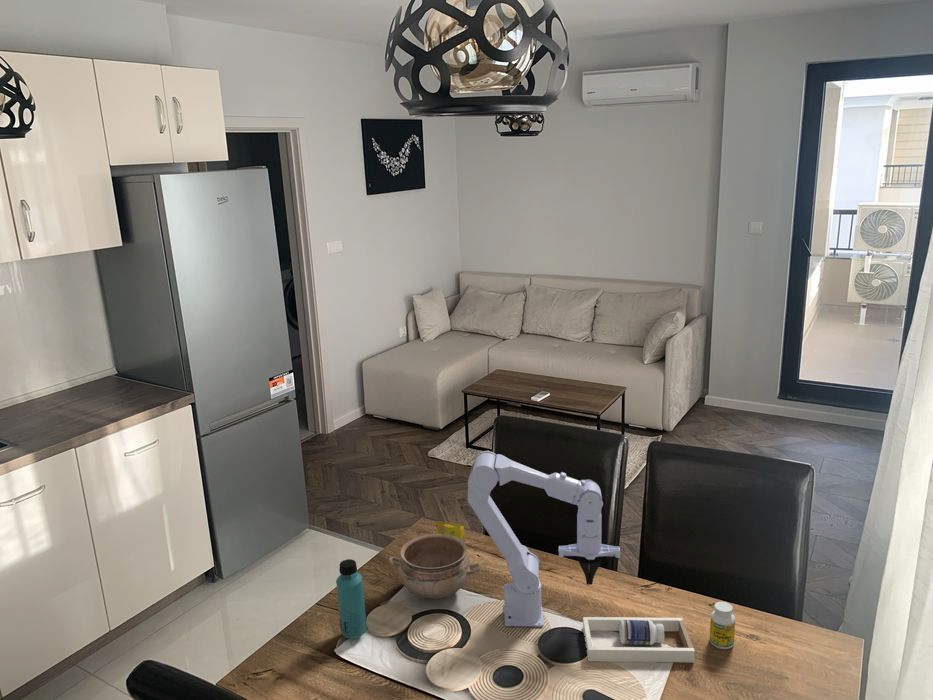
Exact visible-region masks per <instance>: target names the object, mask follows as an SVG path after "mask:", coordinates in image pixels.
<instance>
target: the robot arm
mask: <svg viewBox="0 0 933 700" xmlns="http://www.w3.org/2000/svg"><path fill="white" fill-rule="evenodd" d="M469 472H470V473H469V477H468V478H467V479H468V480H467V502H468V504H469V506H470V507H471V509H472V510H473V512H474V513H475V515H476V517H478V519H479V521H480V523H481V524H482V526H483V527H484V529H485V530H486V532H487V533H488V535H489V537H490V538H491V540H492V541H493V542H494V544H495V546H496V547H497V549H498V550H499V552H500V554H501V555H502V557H503V559H504V560H505V562H506V566H507V570H508V573H509V575H510V576H511V579H512V581H511V582H508V583H504V585H503V586H504V587H503V588H504V589H503V590H504V591H503V595H504V596H503V599H504V600H503V602H504V604H503V606H502V611H503V612H502V613H504V626H505V627H530V628H531V627H536V628H538V627H544V625H545V623H544V611H543V608H544V607H543V606H542V582H541V581H540V579H539V573H540V572H539V571H540V570H539V569H540V560H539V557H538V556H537V555H536V554H535V553H533V552H531V551H530V550H529V549H528V547H527V546H526V545H523V544H522V543H521V542H520V540H519V538H518V537H517V536H516V534H515V533H514V531H513V530H512V528H511V526H510V525H509V523H508V521H507V520H506V518H505V517H504V516H503V514H502V513H501V511H500V509H499V508H498V506H497V505H496V502H494V500H493V498H492V496H491V495H490V494H491V491H492V490H493V489H494V488H495V487H496V485H497V483H498V482H499V486H503V485H505V484H508V483H509V482H511V481H514V482H517V483H522V484H525V485H529V486H531V487H536V488H539V489H544V491H545V492H546V494H547V496H548V497H552V498H554V499H557V500H560V501H563V502H566V503H569V504H571V505H576V506H577V508H578V509H577V514H576V519H577V521H576V523H577V524H576V536H577V537H576V543H574V544H573V543H572V544H568V545H559V546H558V557H559V558H564V557H577V559H578V565H579V566H580V568H581V569H582V572H583V575H584V577H585V584H586V585H591V586H592V585H593V582H594V578H595V575H596V573H597V571H598V569H599V567H600V566H601V564H602V558H601V557H615V558H616V559H617V558H618V559H621V549H620V548H621V547H620V546H616V545H615V546H614V545H609V544H604V543H602V517H603V516H602V508H603V506H604V502H603V496H602V491H601V488H600V486H599V484H598V483H597V482H596V481H594V480H592V479H581V480H578V479H576V478H573V477H570V476H567V473H565V472H563V471H561V472H560V473H558V472H553V473H551V474H547V473H544V472H542V471H539V470H536V469H534V468H531V467H529V466H527V465H524V464H521V463H520V462H517V461H514V460H512V459H510V458H508V457H506V456H505V455H503V454H501V453H500V454H499V453H498V454H496V453H495V452H492V451H490V450H484V451H480V452H478V454H476V456H475V458H474V459H473V461H472V465H471V468H470V471H469Z"/></svg>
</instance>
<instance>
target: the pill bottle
mask: <svg viewBox="0 0 933 700" xmlns="http://www.w3.org/2000/svg"><path fill="white" fill-rule="evenodd" d="M618 632H619V640H620V643H621V644H622V645H639V646H640V645H642V646H652V645H654V643H655V642H657V643H664V642H665V631H664V627H663V624H656V625H654V624H653V622H652V621H650V620H620V623H619V631H618Z"/></svg>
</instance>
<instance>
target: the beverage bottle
mask: <svg viewBox="0 0 933 700" xmlns="http://www.w3.org/2000/svg"><path fill="white" fill-rule="evenodd" d="M338 571H339V576H338V577H337V578H336V580H335V583H336V590H337V591H336V594H337V604H338V613H339V614H338V615H339V623H338V624H339V630H340V633H341V634H342V636H343V637H345V638H346V639H357V638H360V637H362V636H363V635H364V634H365V633H366V631H367V628H368V627H367V626H368V625H367V624H368V623H367V614H366V613H367V611H366V607H365V606H366V605H365V596H364V595H365V594H364V585H363V576H362V575H361V574H360V573H359V572H358V566H357V562H356V560H354V559H350V558H349V559H343V560H342V561H341V562H340V563H339V569H338Z"/></svg>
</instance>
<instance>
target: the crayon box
mask: <svg viewBox="0 0 933 700" xmlns="http://www.w3.org/2000/svg"><path fill="white" fill-rule="evenodd" d="M436 530H437V534H447V535H452V536H455V537H457V538H459V539H461V540H462V541H463V542H464V543H465V542H466V541H465V526H463V525H461V524H459V523H453V522H445V521H439V520H437V529H436ZM465 544H466V543H465Z"/></svg>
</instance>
